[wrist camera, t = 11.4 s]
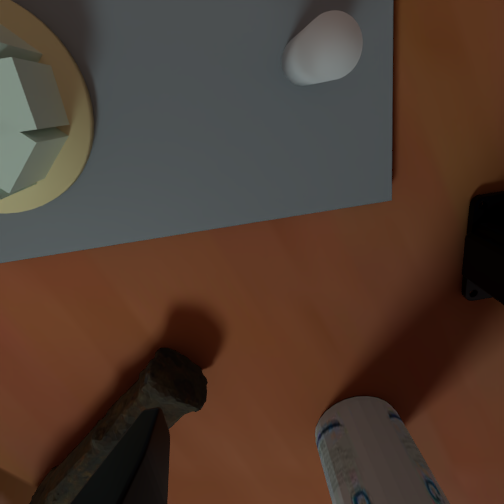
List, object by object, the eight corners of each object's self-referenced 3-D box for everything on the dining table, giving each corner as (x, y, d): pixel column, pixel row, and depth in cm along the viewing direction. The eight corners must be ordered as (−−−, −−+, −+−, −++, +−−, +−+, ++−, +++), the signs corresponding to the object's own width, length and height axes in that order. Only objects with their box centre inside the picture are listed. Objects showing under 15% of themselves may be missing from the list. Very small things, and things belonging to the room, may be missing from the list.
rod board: (383, -151, 14) (485, -310, 9) (383, 195, 20) (447, 231, 14) (-193, -68, 14) (-468, -180, 8) (-32, 262, 19) (-133, 326, 14)
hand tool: (163, 332, 22) (148, 387, 18) (211, 367, 24) (208, 426, 19) (-4, 495, 27) (-48, 571, 22) (45, 517, 28) (12, 593, 24)
